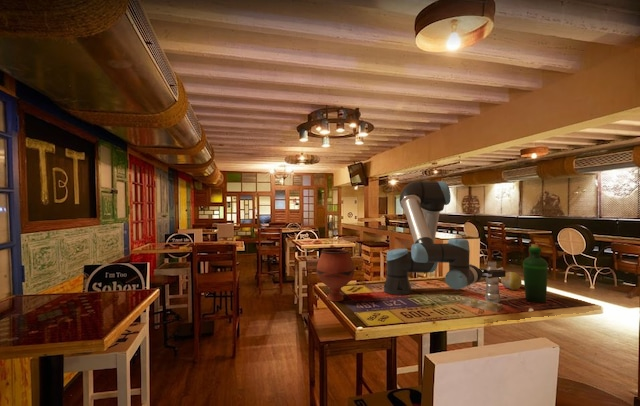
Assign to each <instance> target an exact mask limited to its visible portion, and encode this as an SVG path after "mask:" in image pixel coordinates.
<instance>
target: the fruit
mask: <svg viewBox="0 0 640 406" xmlns="http://www.w3.org/2000/svg"><path fill="white" fill-rule="evenodd" d="M522 281H523V280H522V277H521V276H520V275H519V274H518V273H517V272H515V271H508V272H506V277H501V278H500V282H501V284H502V286H503V287H504V288H506V289H508V290H512V291H517V290H519V289H520V287H522V283H523V282H522Z"/></svg>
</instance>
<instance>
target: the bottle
mask: <svg viewBox="0 0 640 406" xmlns="http://www.w3.org/2000/svg"><path fill="white" fill-rule="evenodd" d="M530 245H531V246H529V247H528V252H529V256H528V257H526V258H524V260H523V261H522V269H523V270H522V271H523V284H524V296H525V300H528V301H529V302H533V303H539V304H543V303H546V302H547V291H548V290H547V287H548V270H549V269H548V267H549V263H548V262H547V261H546V260H545V259H544V258H543V257H541V253H542V249H541V247H539V244H538V243H537V244H536V243H535V244H534V243H532V244H530Z"/></svg>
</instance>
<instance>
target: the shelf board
mask: <svg viewBox="0 0 640 406" xmlns="http://www.w3.org/2000/svg"><path fill="white" fill-rule="evenodd" d="M459 299H460V302H459V303H460V305H461V306H465V307H466V306H467V307H470V308H475V309H481V310H484V311H490V312H495V313H498V312H500V311H501V310H502V309H504V304H503V303H493V302H488V301H486V300H482V299H477V298H472V297H464V296H460V298H459Z"/></svg>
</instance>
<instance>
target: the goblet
mask: <svg viewBox="0 0 640 406" xmlns="http://www.w3.org/2000/svg"><path fill="white" fill-rule="evenodd" d="M354 274H355V265H354V262H353V259H352V257H351V254H350V250H349V249H338V248H330V249H322V250H321V254H320V255H319V258H318V262H317V264H316V275H317V277H318V278H319V280H320V281H321V282H322V283H323V284H324V285H325V286H326V287H328V288H329V291H330V293H328V294H327V296H326V300H327V301H330V302H341V301H344V300H345V299H344V296H343V295H342V293H341V290H342V288H343V287H346V286H347V285H348V284H349V283H350V282H351V281H352V279H353V277H354Z"/></svg>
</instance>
